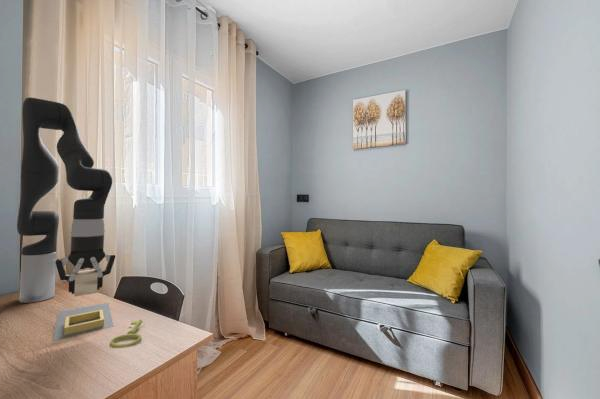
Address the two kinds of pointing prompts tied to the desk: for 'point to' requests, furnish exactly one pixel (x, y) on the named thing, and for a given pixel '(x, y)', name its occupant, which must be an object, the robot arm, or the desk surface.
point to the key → (128, 336)
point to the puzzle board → (82, 321)
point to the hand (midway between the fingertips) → (85, 290)
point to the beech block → (86, 282)
